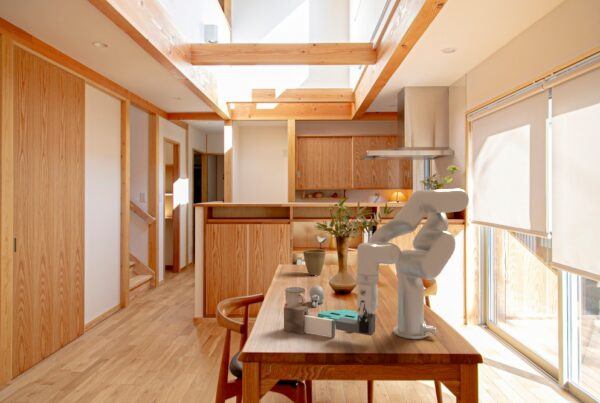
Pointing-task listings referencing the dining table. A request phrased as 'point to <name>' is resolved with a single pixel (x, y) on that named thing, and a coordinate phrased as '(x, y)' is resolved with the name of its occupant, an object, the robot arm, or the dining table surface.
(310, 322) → the gate
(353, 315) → the alien figure
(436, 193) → the robot arm
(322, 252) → the plant pot
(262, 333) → the dining table surface
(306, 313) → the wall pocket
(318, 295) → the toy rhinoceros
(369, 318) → the grey stepped block
